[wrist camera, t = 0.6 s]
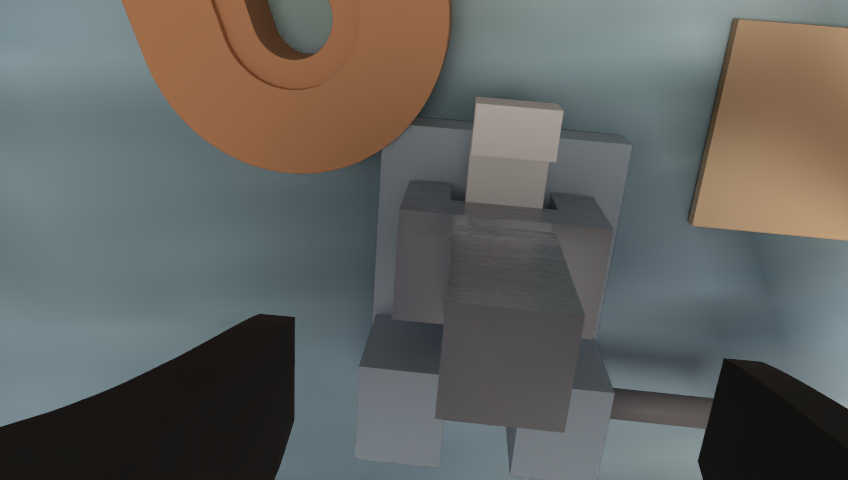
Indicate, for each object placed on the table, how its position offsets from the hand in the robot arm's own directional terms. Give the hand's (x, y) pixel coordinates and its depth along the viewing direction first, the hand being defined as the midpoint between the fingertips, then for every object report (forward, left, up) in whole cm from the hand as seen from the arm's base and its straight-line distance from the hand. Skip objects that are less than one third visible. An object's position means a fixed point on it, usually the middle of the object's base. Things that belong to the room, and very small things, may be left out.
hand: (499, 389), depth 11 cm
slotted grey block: (0, 0, -8) cm, 8 cm away
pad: (+3, -9, -10) cm, 14 cm away
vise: (-1, -2, -10) cm, 11 cm away
